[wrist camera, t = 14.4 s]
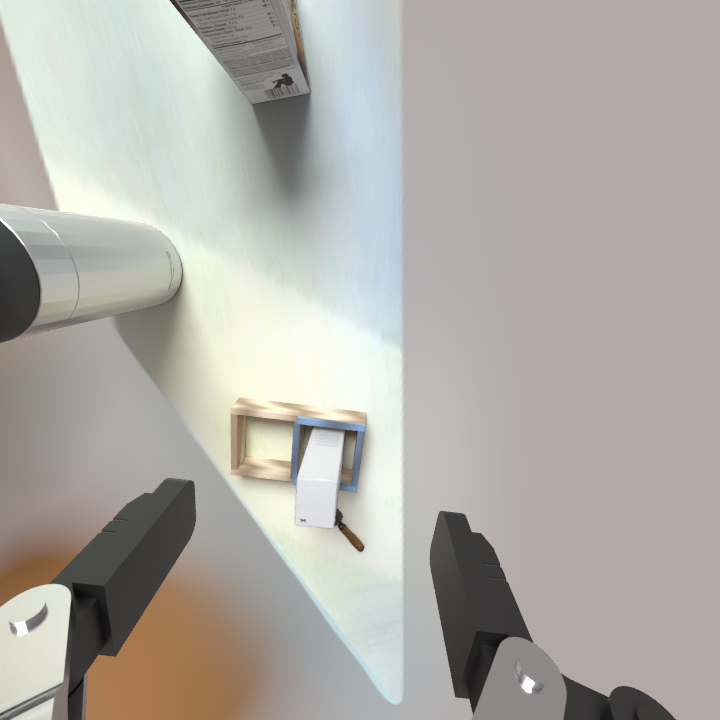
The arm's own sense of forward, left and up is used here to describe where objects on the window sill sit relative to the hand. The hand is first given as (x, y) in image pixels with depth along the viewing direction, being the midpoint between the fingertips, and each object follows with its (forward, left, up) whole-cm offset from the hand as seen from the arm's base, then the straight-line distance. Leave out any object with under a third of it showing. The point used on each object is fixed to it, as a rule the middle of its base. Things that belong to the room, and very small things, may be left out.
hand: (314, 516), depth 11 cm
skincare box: (-2, -16, -30) cm, 34 cm away
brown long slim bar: (+2, -30, -31) cm, 43 cm away
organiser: (-6, -16, -30) cm, 35 cm away
